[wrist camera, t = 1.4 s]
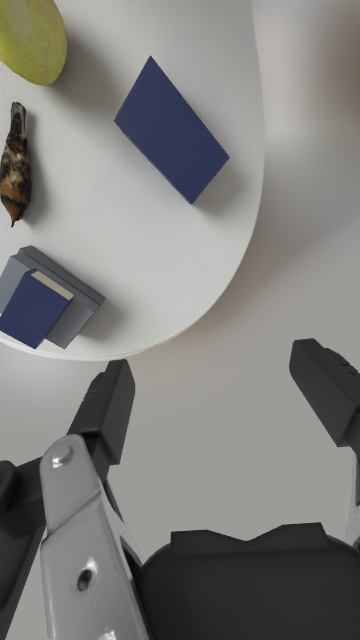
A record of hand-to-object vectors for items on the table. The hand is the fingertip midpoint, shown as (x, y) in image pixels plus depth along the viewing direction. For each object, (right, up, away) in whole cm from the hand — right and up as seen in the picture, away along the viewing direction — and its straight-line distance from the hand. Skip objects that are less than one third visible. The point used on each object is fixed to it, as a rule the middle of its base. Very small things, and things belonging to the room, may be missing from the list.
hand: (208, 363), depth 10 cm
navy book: (-22, +4, +21) cm, 31 cm away
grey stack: (-22, +6, +25) cm, 34 cm away
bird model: (-22, +21, +17) cm, 35 cm away
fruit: (-15, +30, +11) cm, 36 cm away
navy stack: (-2, +23, +15) cm, 28 cm away
